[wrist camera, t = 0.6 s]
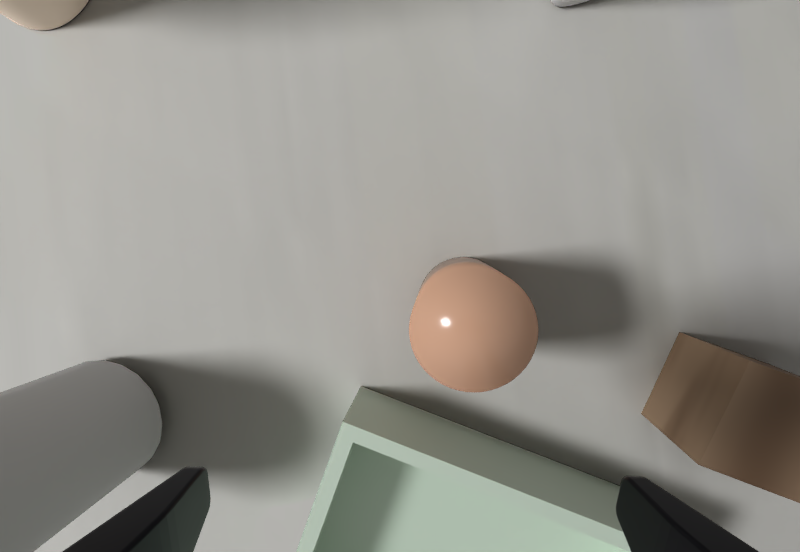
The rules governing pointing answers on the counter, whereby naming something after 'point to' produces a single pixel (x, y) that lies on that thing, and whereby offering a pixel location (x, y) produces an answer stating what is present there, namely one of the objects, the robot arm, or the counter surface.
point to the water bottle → (41, 12)
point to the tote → (450, 491)
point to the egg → (472, 326)
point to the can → (70, 446)
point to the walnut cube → (730, 414)
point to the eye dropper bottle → (567, 2)
